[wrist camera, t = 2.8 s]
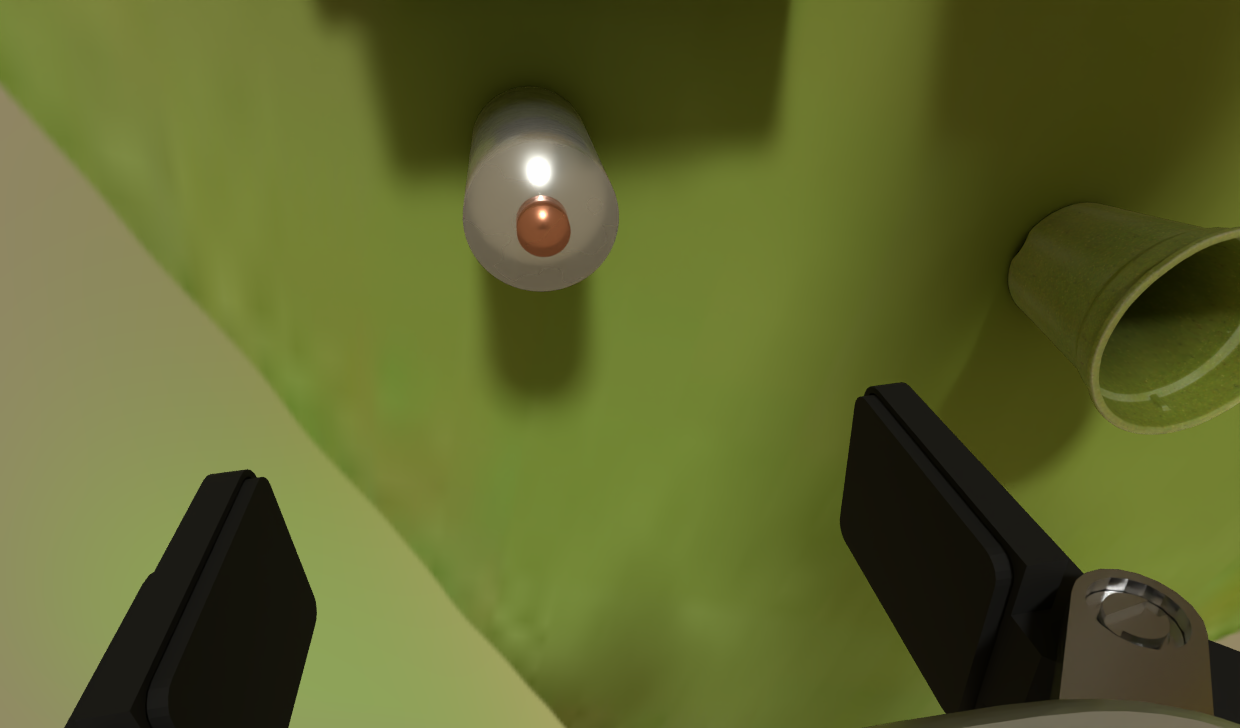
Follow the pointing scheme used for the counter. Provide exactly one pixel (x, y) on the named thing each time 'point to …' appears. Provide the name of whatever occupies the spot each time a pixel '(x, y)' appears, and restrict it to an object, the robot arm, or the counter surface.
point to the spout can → (537, 193)
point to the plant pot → (1137, 311)
